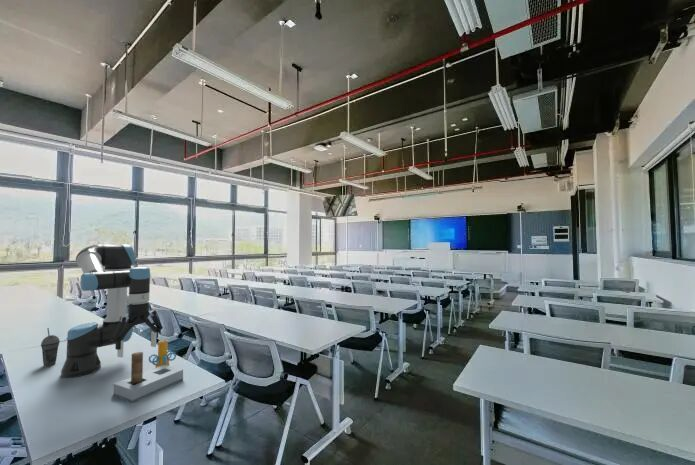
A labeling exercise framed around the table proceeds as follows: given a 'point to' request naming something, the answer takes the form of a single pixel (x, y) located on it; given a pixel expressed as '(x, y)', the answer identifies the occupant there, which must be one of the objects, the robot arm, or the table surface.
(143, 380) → the hole block
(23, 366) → the table surface
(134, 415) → the table surface
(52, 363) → the beverage cup
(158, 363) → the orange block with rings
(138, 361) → the pin
